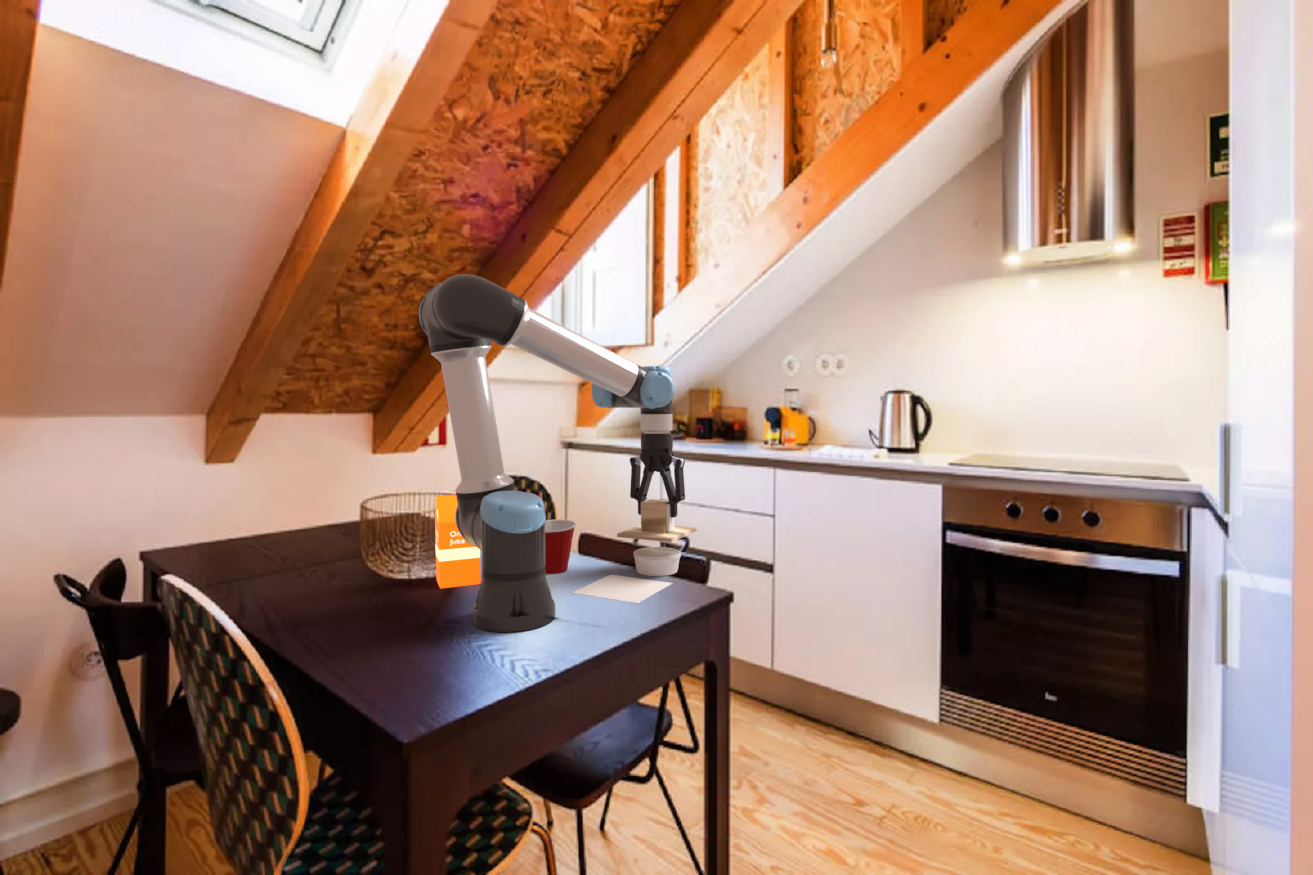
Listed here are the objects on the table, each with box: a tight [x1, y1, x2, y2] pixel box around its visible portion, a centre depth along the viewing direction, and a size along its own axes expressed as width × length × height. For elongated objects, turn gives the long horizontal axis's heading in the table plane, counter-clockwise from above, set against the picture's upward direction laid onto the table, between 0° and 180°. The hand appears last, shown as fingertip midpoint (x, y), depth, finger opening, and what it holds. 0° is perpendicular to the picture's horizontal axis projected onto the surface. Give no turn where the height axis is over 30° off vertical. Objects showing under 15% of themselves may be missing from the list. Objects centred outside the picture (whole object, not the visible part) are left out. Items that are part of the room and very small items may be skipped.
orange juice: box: [434, 494, 482, 590], centre depth 147 cm, size 8×9×20 cm
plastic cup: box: [545, 518, 577, 575], centre depth 155 cm, size 11×11×12 cm
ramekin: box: [633, 546, 682, 577], centre depth 154 cm, size 11×11×5 cm
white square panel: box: [571, 574, 673, 604], centre depth 140 cm, size 16×16×1 cm
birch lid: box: [616, 498, 698, 543], centre depth 154 cm, size 14×14×8 cm
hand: (657, 529), depth 154 cm, fingers closed on birch lid, 6 cm apart
